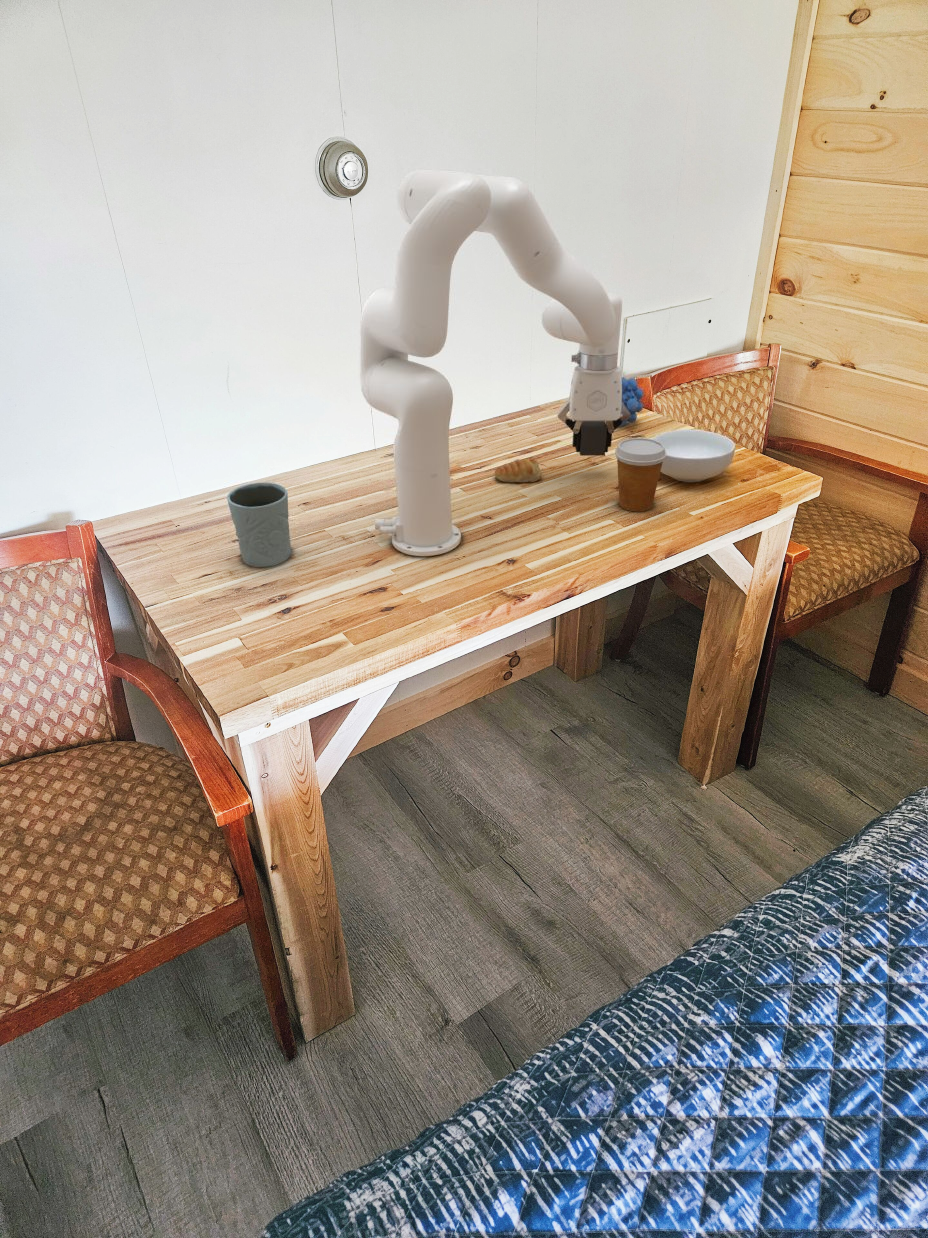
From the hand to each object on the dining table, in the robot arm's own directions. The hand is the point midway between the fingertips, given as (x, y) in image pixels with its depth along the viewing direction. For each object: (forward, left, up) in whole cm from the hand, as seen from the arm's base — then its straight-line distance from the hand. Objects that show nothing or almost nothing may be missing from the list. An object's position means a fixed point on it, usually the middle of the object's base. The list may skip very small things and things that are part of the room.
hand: (591, 449), depth 169 cm
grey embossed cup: (-61, -34, -6) cm, 70 cm away
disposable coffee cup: (+7, -15, -6) cm, 17 cm away
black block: (0, 0, 0) cm, 0 cm away
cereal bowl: (+20, -1, -6) cm, 21 cm away
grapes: (+11, +28, -6) cm, 31 cm away
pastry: (-15, -1, -6) cm, 16 cm away
